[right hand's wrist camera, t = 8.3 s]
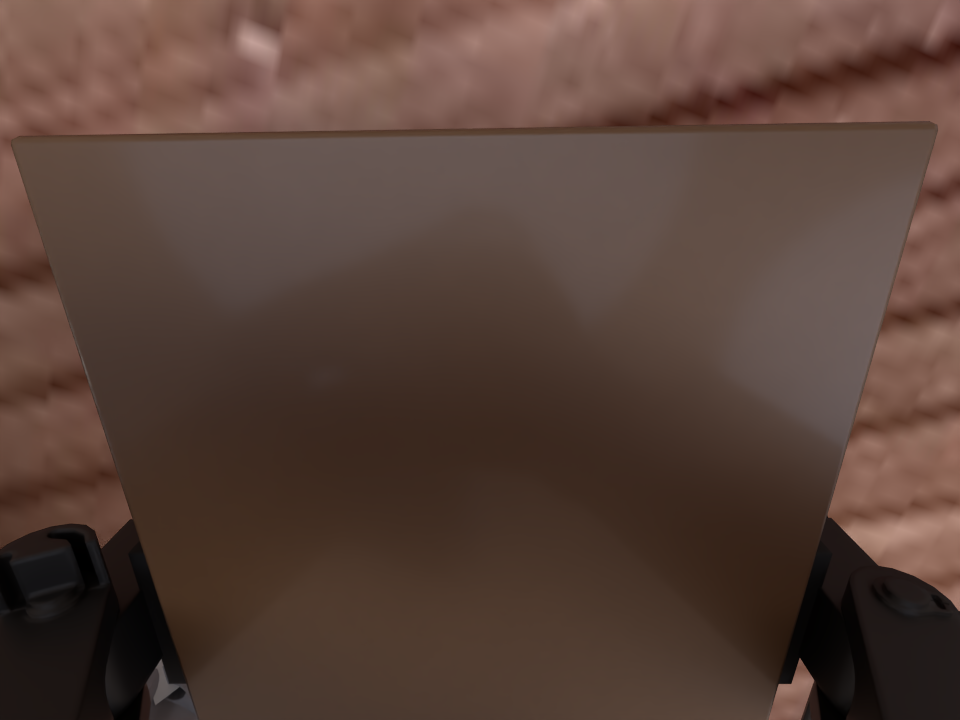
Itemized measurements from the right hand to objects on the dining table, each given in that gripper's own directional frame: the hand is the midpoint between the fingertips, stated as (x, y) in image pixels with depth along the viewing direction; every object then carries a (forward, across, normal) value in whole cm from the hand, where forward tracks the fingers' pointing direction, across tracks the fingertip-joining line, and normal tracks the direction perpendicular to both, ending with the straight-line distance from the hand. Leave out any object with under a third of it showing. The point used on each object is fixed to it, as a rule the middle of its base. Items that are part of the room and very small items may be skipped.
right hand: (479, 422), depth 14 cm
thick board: (+1, 0, -29) cm, 29 cm away
